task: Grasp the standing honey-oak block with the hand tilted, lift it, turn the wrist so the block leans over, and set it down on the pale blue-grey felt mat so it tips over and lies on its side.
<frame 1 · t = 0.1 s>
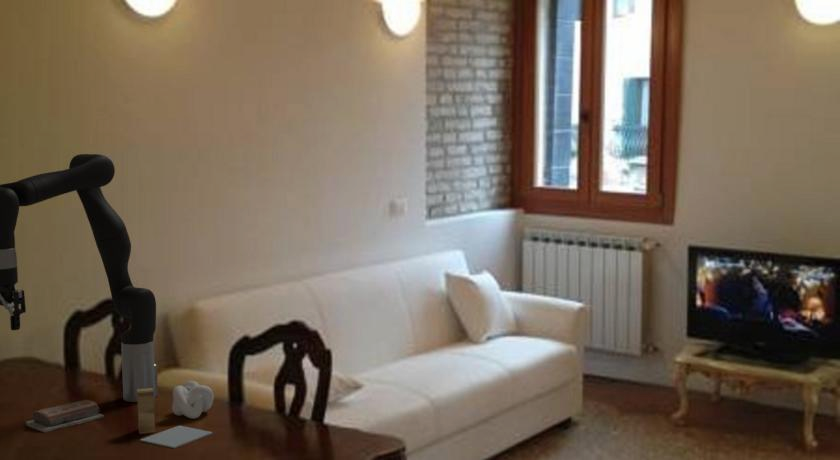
hand: (4, 328, 260), 29 cm above the table, tool pointing down, fingers open, 8 cm apart
felt mat: (177, 437, 263), on the table
white decorative knot: (189, 415, 284), on the table
packaged product: (65, 423, 278), on the table
oak block: (146, 431, 269), on the table
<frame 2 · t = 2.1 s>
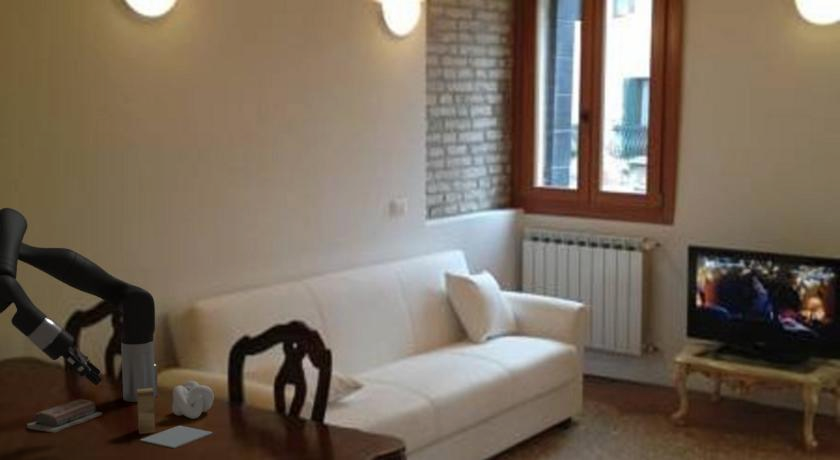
hand: (98, 378, 264), 15 cm above the table, tool tilted 45°, fingers open, 8 cm apart
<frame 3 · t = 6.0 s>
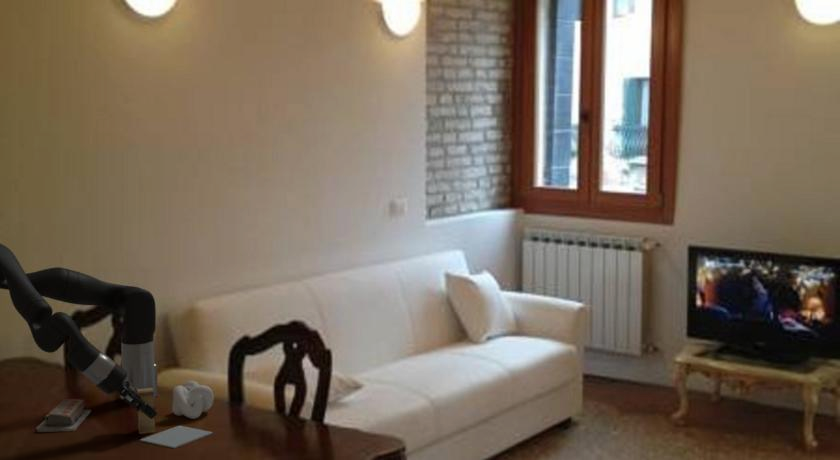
hand: (153, 413, 269), 5 cm above the table, tool tilted 45°, fingers closed on oak block, 4 cm apart
oak block: (146, 430, 269), on the table, touching gripper
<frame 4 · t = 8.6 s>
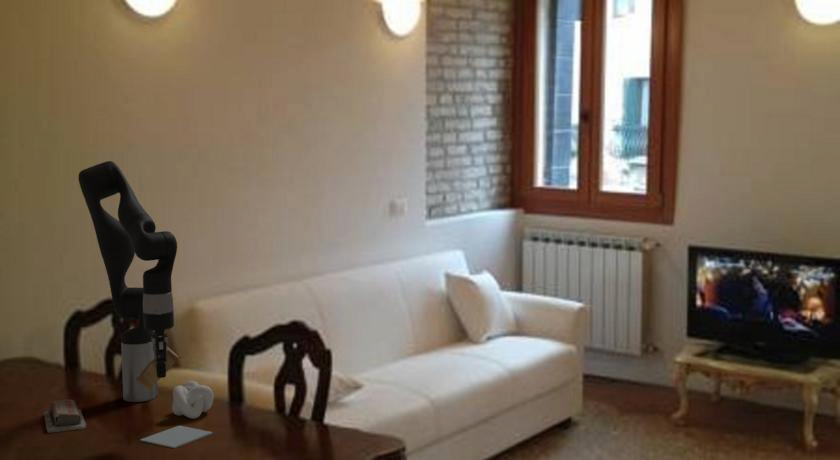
hand: (160, 374, 261), 17 cm above the table, tool pointing down, fingers closed on oak block, 4 cm apart
oak block: (142, 384, 260), point 15 cm above the table, tilted 45°, touching gripper
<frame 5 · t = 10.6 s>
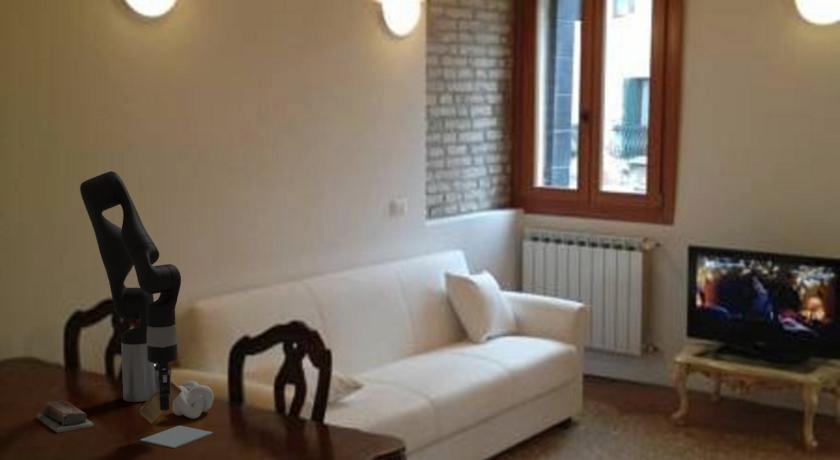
hand: (164, 407, 262), 8 cm above the table, tool pointing down, fingers closed on oak block, 4 cm apart
oak block: (145, 416, 260), point 6 cm above the table, tilted 45°, touching gripper
when the fingers open (4 cm above the table, at t = 12.0 s): oak block moves 1 cm and tips over, resting on felt mat.
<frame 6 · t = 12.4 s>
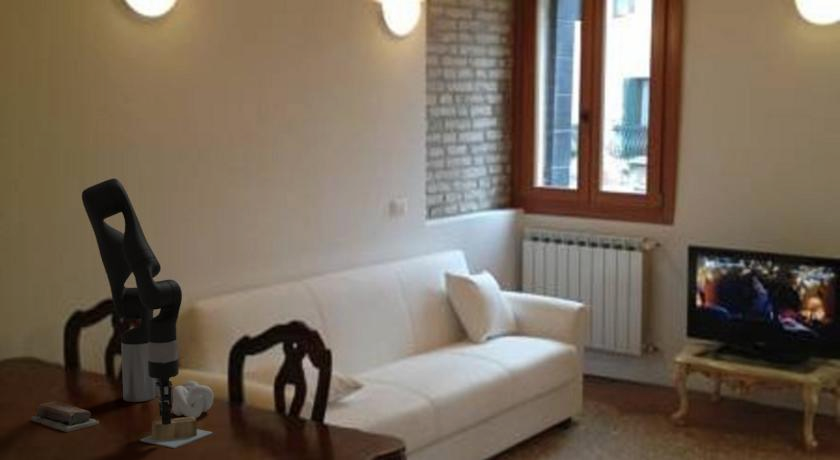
hand: (165, 419, 262), 5 cm above the table, tool pointing down, fingers open, 7 cm apart
oak block: (152, 430, 261), point 2 cm above the table, tilted 90°, touching felt mat
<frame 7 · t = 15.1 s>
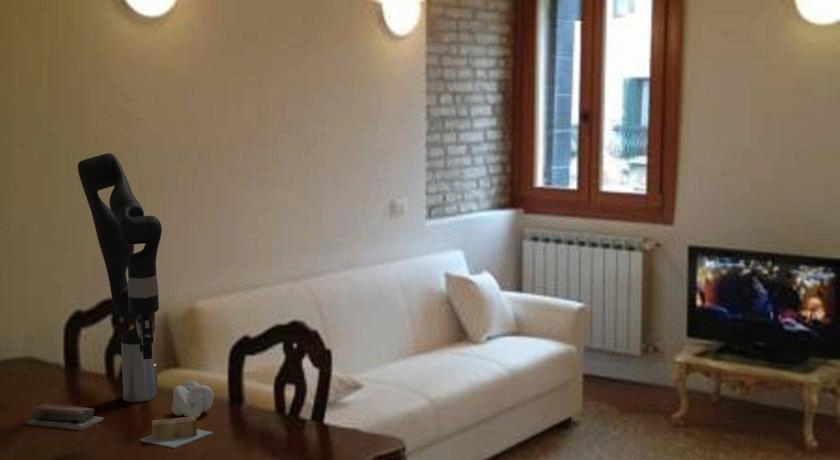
hand: (145, 355, 262), 22 cm above the table, tool pointing down, fingers open, 8 cm apart
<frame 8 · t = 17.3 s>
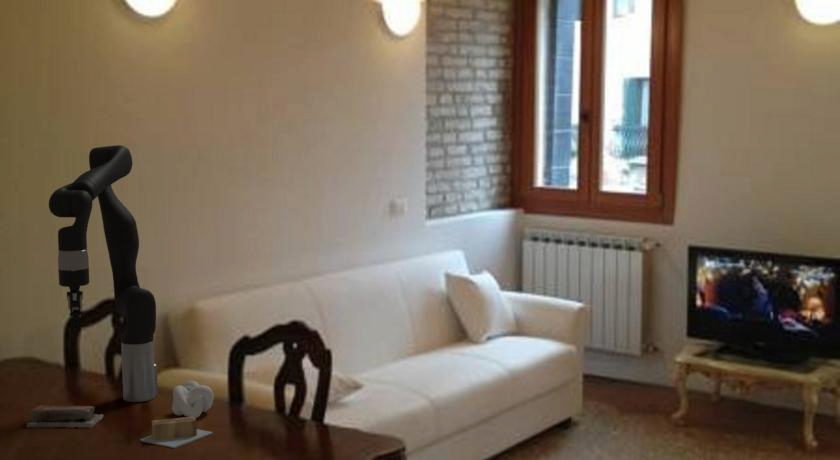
hand: (76, 328, 265), 28 cm above the table, tool pointing down, fingers open, 8 cm apart
at the end: oak block tilted 90°; oak block inside the target area (4.7 cm from its centre), point 2.4 cm above the table; the gripper is holding nothing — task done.
